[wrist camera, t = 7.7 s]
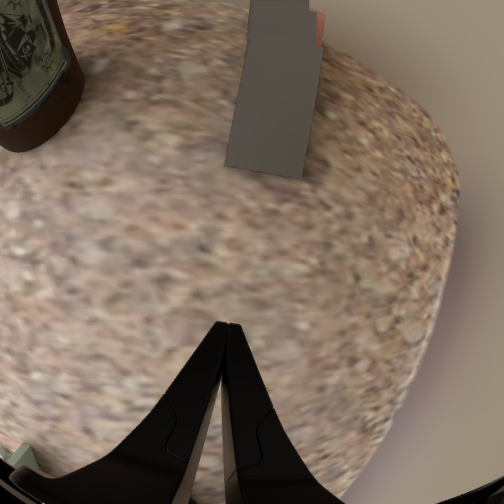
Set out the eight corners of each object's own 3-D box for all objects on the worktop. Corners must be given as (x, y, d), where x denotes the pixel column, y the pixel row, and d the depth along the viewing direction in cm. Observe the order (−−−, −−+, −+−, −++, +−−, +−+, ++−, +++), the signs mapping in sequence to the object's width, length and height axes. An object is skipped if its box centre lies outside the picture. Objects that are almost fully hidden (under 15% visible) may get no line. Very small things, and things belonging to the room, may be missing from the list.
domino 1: (301, 179, 17) (323, 47, 15) (224, 165, 17) (253, 29, 14) (294, 178, 19) (316, 55, 16) (224, 165, 18) (250, 39, 15)
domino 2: (308, 119, 18) (317, 12, 15) (238, 108, 17) (254, -1, 14) (302, 122, 19) (311, 20, 16) (237, 113, 19) (252, 9, 16)
